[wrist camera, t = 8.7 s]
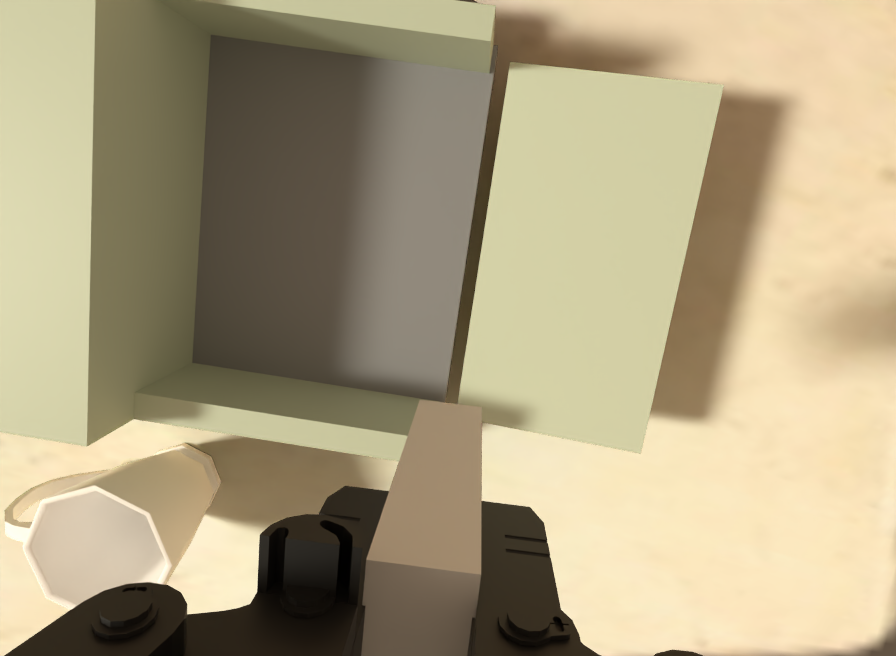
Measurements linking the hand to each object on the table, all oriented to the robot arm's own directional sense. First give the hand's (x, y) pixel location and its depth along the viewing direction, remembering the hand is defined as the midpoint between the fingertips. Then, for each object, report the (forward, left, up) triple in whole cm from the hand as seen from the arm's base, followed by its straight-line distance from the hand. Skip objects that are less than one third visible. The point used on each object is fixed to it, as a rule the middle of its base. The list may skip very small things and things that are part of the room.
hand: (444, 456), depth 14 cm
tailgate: (-4, 0, -15) cm, 15 cm away
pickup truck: (-4, -9, -18) cm, 20 cm away
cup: (+12, -16, -18) cm, 27 cm away
